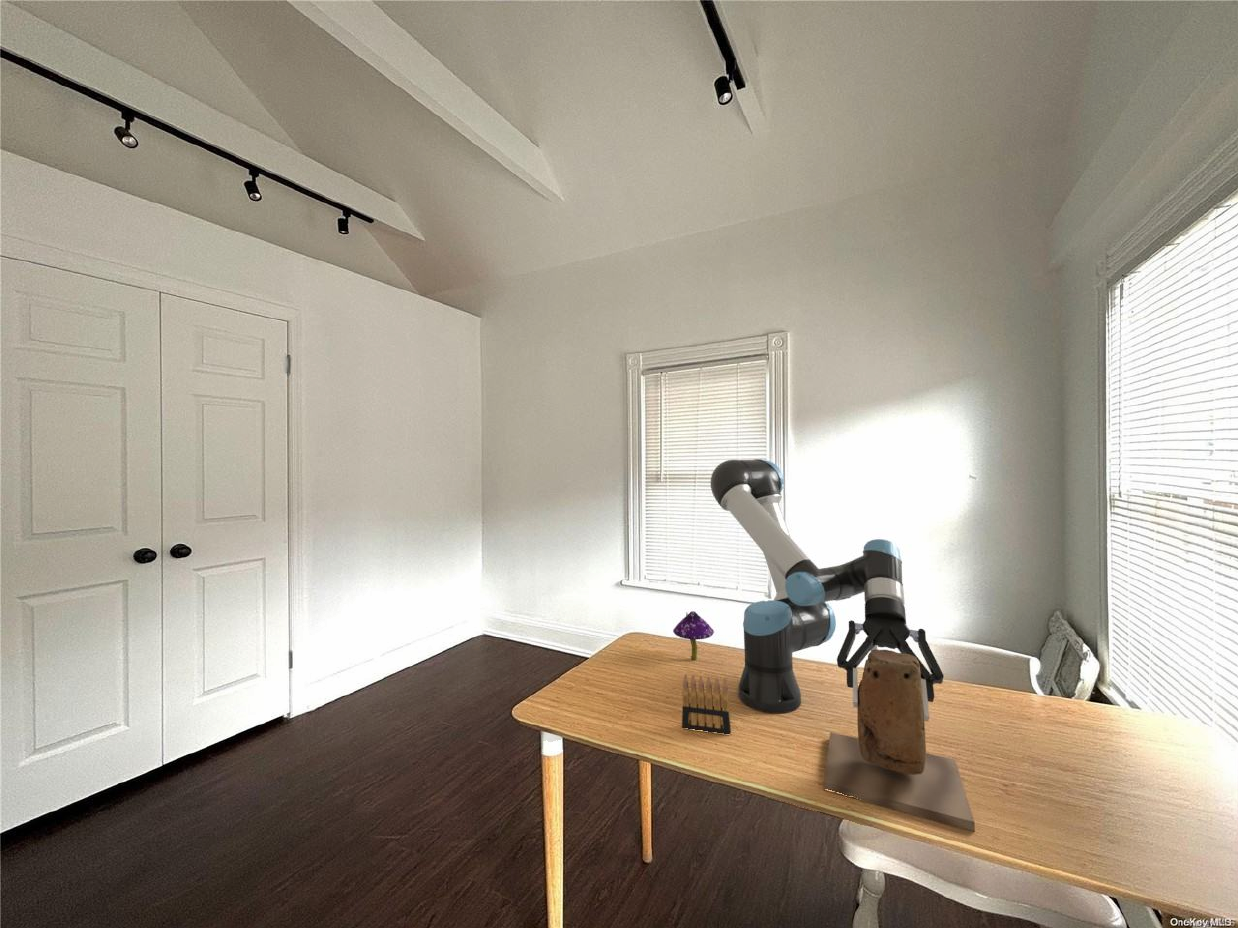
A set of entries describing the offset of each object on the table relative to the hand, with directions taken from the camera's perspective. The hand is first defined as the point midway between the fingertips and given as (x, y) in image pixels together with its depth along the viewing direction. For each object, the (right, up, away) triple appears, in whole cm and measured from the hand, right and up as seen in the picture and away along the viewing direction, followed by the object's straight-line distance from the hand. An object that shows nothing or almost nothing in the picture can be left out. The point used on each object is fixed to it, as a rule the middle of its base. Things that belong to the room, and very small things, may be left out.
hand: (889, 711), depth 86 cm
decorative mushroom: (-27, -15, +57) cm, 65 cm away
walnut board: (+1, -13, +1) cm, 13 cm away
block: (+1, -10, +1) cm, 10 cm away
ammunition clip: (-31, -14, +19) cm, 38 cm away
